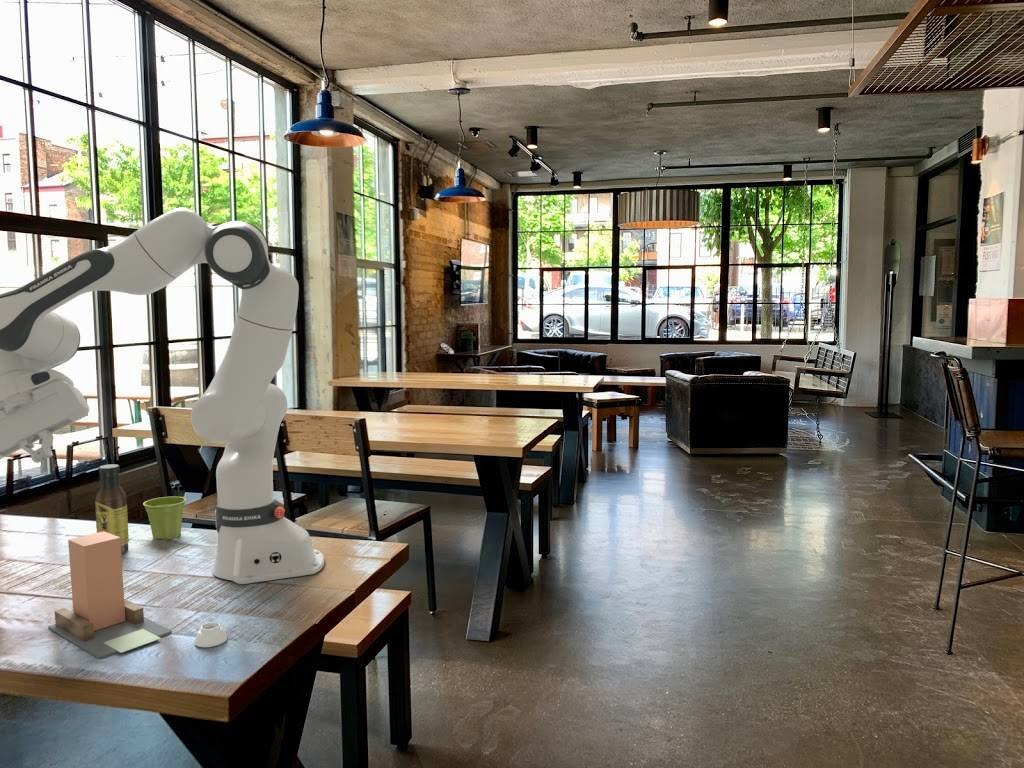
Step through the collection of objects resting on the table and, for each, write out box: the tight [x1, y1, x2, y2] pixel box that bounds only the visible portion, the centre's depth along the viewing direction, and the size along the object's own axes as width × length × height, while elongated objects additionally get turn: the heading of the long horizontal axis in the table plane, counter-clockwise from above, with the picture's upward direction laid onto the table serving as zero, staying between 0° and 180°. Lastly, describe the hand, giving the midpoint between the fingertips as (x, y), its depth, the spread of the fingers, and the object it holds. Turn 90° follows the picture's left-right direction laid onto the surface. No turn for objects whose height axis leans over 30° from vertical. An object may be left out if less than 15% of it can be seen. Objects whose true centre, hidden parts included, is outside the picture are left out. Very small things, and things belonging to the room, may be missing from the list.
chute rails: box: [54, 598, 145, 642], centre depth 135 cm, size 11×10×2 cm
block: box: [67, 531, 126, 631], centre depth 134 cm, size 6×6×15 cm
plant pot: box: [142, 496, 187, 541], centre depth 185 cm, size 9×9×9 cm
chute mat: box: [47, 616, 173, 660], centre depth 133 cm, size 20×12×1 cm, turn 52°
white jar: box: [194, 621, 228, 649], centre depth 128 cm, size 5×3×5 cm
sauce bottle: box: [94, 463, 130, 555], centre depth 173 cm, size 6×6×20 cm
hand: (43, 458), depth 141 cm, fingers closed
